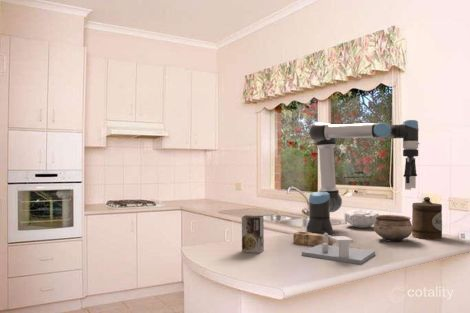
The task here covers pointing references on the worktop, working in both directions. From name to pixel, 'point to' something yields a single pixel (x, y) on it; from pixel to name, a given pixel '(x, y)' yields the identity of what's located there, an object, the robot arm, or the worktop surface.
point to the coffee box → (252, 234)
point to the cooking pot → (393, 227)
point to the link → (310, 238)
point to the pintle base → (339, 251)
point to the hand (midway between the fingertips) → (410, 188)
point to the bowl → (360, 218)
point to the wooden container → (427, 220)
